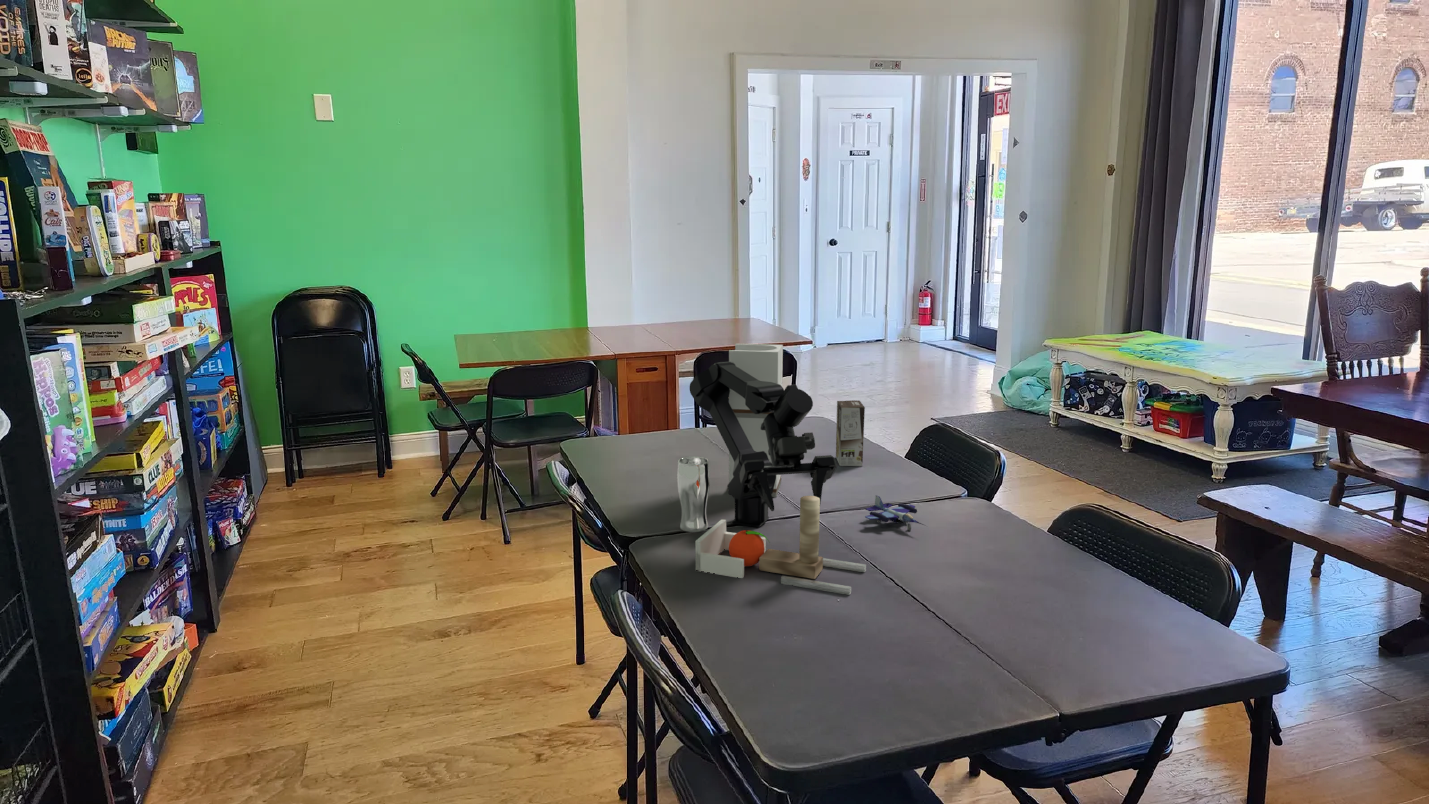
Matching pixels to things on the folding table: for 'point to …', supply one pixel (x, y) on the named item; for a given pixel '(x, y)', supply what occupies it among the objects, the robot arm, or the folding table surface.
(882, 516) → the toy airplane
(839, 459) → the coffee box
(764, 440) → the white square tower
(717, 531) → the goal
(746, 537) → the clementine
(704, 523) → the beer glass
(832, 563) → the rails
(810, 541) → the ball
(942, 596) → the folding table surface
